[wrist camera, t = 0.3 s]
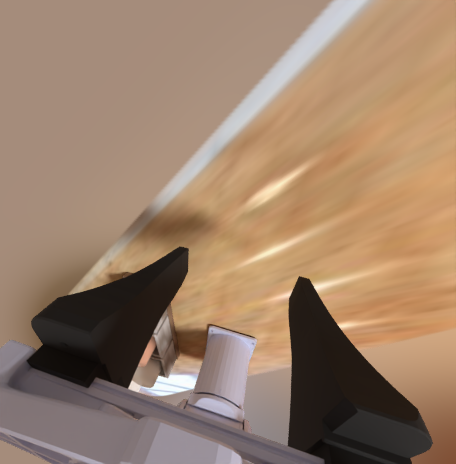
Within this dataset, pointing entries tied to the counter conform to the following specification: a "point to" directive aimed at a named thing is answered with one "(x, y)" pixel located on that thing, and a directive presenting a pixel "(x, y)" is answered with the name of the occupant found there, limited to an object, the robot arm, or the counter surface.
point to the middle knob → (148, 352)
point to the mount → (165, 341)
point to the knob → (148, 373)
